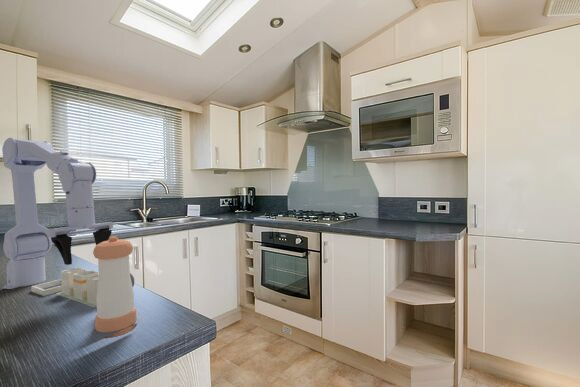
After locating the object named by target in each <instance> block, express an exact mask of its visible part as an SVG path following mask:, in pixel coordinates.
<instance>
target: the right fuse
mask: <svg viewBox="0 0 580 387" xmlns="http://www.w3.org/2000/svg"><path fill="white" fill-rule="evenodd" d="M98 283H99V274H98V275H95V276H91V277H87V278H86V285H87V302H89V303H92V304H95V305H97V303H96V298H97V290H98Z"/></svg>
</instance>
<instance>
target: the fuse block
mask: <svg viewBox="0 0 580 387" xmlns="http://www.w3.org/2000/svg"><path fill="white" fill-rule="evenodd" d="M55 295H58V296H59V297H63V298H67V299H69V300H72V301H74V302H78V303H80V304H83V305H86V306H88V307H91V308H97V305H95V304H92V303H89V302H87V291H85V299H84V300H81V299H78V298H75V297H74V287H72V295H70V296H69V295H66V294H63V293H62V291H61V292H57V293H55Z"/></svg>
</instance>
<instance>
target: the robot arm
mask: <svg viewBox="0 0 580 387" xmlns="http://www.w3.org/2000/svg"><path fill="white" fill-rule="evenodd" d="M1 150H2V161H3V164H4V167H5V168H6V169H8V170H10V174H11V181H12V182H11V183H12V192H13V204H14V211H15V212H14V213H15V226H13V227H12V228H10V229H9V230H8V231H6V232H5V233H4V237H3V238H4V240H3V245H2V248H3V249H2V250H3V253H4V255H5V256H6V258H8V259H10V260H9V261H8V262H7V264H6V283H7V284H6V285H4V286H3V289H6V290H11V289H16V288H19V287H27V286H29V287H30V286H35V285H39V284H42V283H43V282H44V283H45V281H46V258H45V256H46V255H48V253H49V252H50V250H51V249H52V246H53V244H54V245H55V247H56V249H57V250H58V251H59V254H60V255H61V257H62V258H61V259H62V260H63V264H64V265H65V266H66V265H67V266H68V265H72V263H73V257H72V240H73V237H72V236H71V235H76V234H84V233H88V232H89V233H90V232H92V234H93V237H94V242H95V246H96V245H98V244H99V243H101V242H104V241H108V240H109V238H110V237H111V235H112V233H113V232H112V229H114V222H113V221H108V222H107V221H106V222H97V223H96V217H95V206H94V205H95V204H94V195H93V194H94V192H93V184H94V183H95V181H96V178H97V170H96V168H95V166H94V165H93V164H92V163H91V162H84V163H83V162H81V161H79V159H78V158H76V157H72V156H71V155H69V152H68V151H64V150H60V151H56V150H55V149H54V148H53V145H52V143H50V142H49V141H40V140H39V141H38V140H30V139H29V140H28V139H21V138H14V137H7V138H6V140H4V142H3V144H2V149H1ZM45 166H47V168H48V169H49V170H50V171H51V172H53V173H55V174H56V175H57V176H58V179H59V182H60V183H61V188H62V191H63V192H65V201H66V202H65V203H66V212H67V213H66V216H67V224H68V226H66V227H65V226H64V227H58V228H56V227H55V228H47V227H46V226H44V225H42V224H40V223H39V217H38V206H37V197H36V196H37V195H36V185H35V174H34V173H35V172H36V171H37V170H41V169H43V168H44V167H45ZM77 230H79V231H77ZM28 234H29V235H28Z"/></svg>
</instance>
